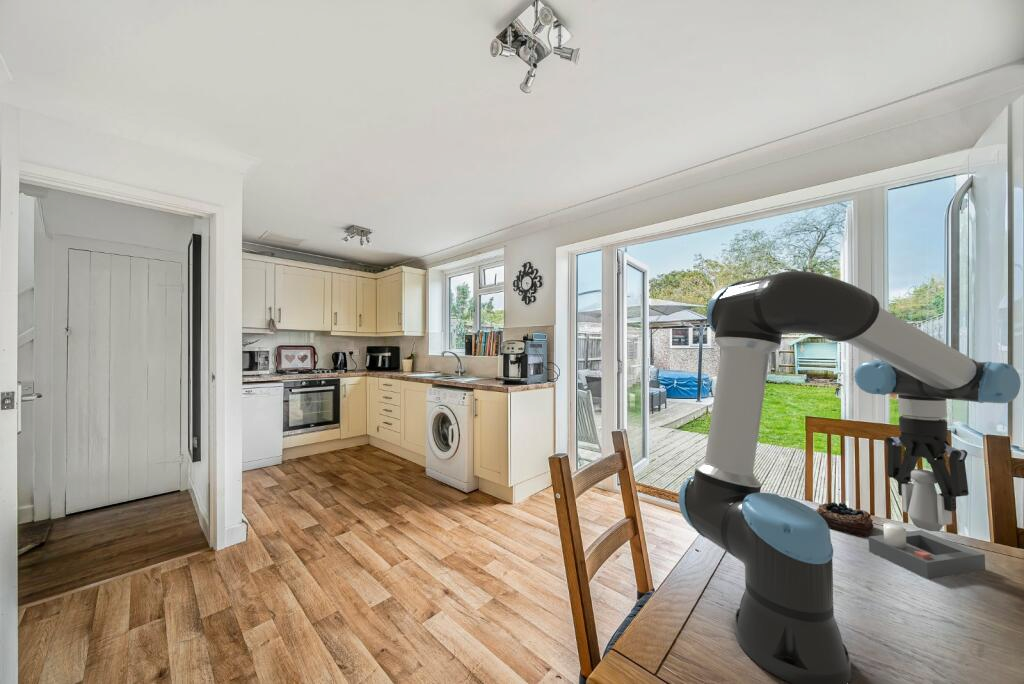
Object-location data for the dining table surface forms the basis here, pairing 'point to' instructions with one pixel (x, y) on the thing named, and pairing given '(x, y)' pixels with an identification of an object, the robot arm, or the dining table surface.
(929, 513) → the salt shaker
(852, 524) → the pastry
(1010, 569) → the dining table surface
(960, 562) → the grey rimmed tray
